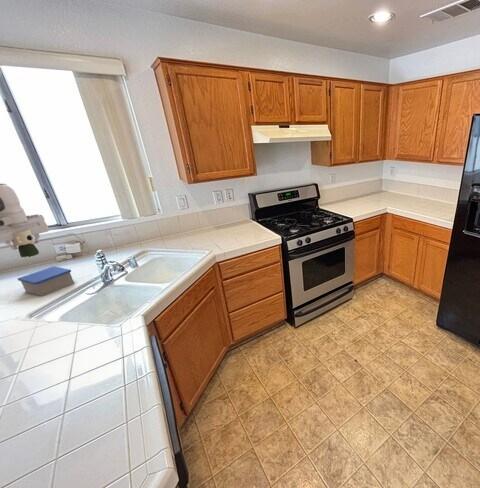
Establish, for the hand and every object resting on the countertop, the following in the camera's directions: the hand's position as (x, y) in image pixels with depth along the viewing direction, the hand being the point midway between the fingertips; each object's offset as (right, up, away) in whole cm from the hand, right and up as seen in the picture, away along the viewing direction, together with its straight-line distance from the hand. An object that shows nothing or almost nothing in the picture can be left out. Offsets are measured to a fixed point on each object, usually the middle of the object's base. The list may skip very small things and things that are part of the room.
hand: (25, 246), depth 125 cm
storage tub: (-5, -22, +16) cm, 28 cm away
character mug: (0, -5, +2) cm, 5 cm away
